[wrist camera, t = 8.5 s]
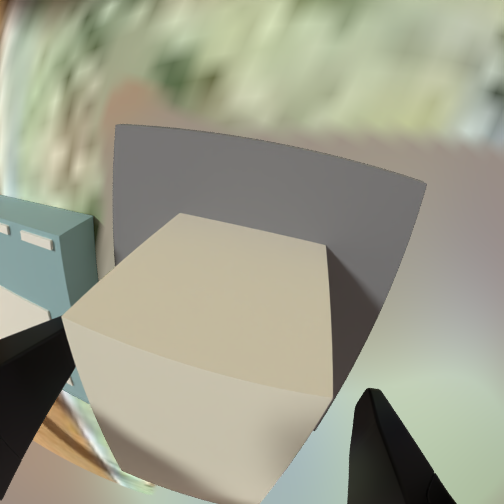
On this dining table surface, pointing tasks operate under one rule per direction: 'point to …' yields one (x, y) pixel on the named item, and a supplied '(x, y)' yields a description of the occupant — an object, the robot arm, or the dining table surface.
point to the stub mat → (274, 210)
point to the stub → (208, 356)
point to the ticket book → (43, 267)
